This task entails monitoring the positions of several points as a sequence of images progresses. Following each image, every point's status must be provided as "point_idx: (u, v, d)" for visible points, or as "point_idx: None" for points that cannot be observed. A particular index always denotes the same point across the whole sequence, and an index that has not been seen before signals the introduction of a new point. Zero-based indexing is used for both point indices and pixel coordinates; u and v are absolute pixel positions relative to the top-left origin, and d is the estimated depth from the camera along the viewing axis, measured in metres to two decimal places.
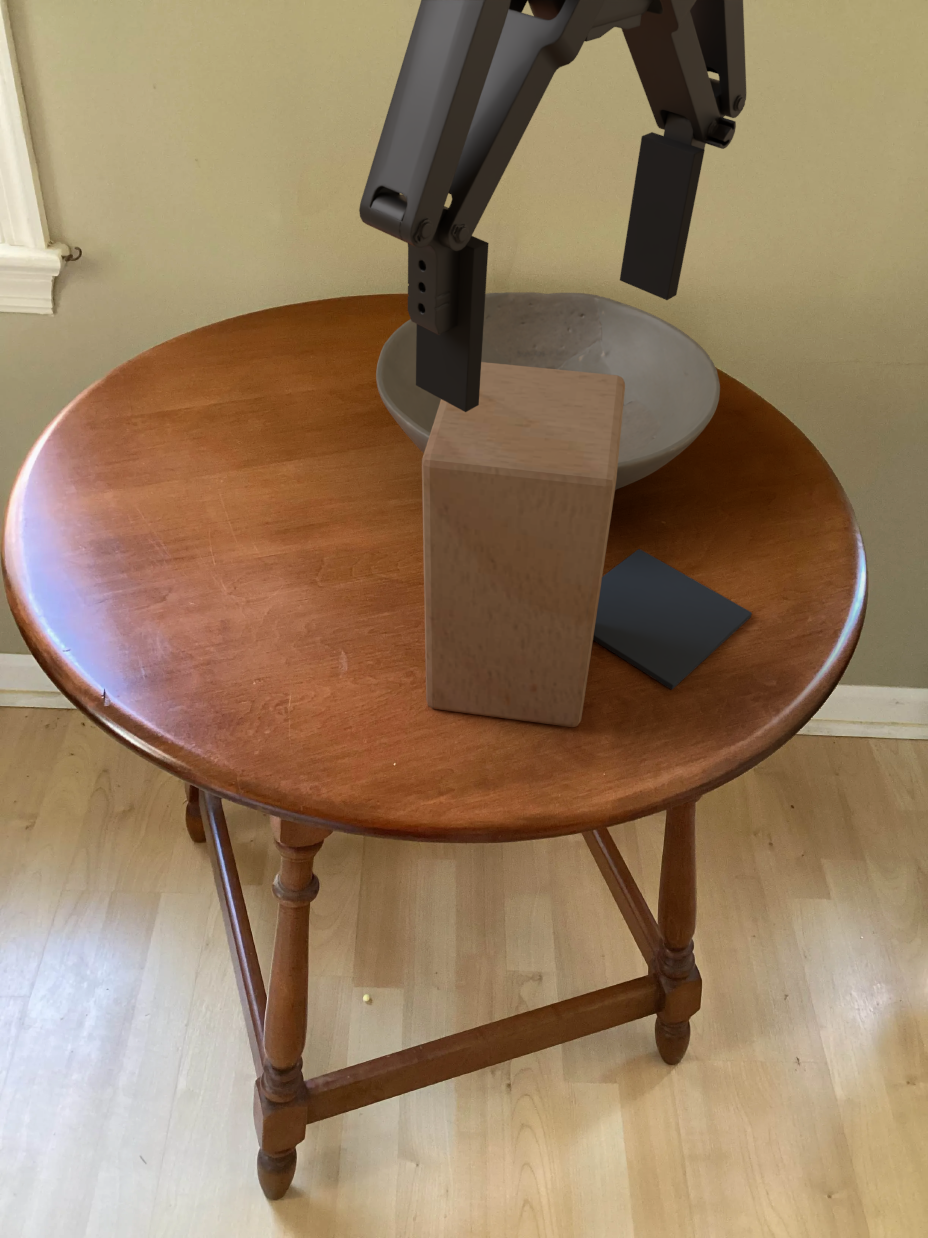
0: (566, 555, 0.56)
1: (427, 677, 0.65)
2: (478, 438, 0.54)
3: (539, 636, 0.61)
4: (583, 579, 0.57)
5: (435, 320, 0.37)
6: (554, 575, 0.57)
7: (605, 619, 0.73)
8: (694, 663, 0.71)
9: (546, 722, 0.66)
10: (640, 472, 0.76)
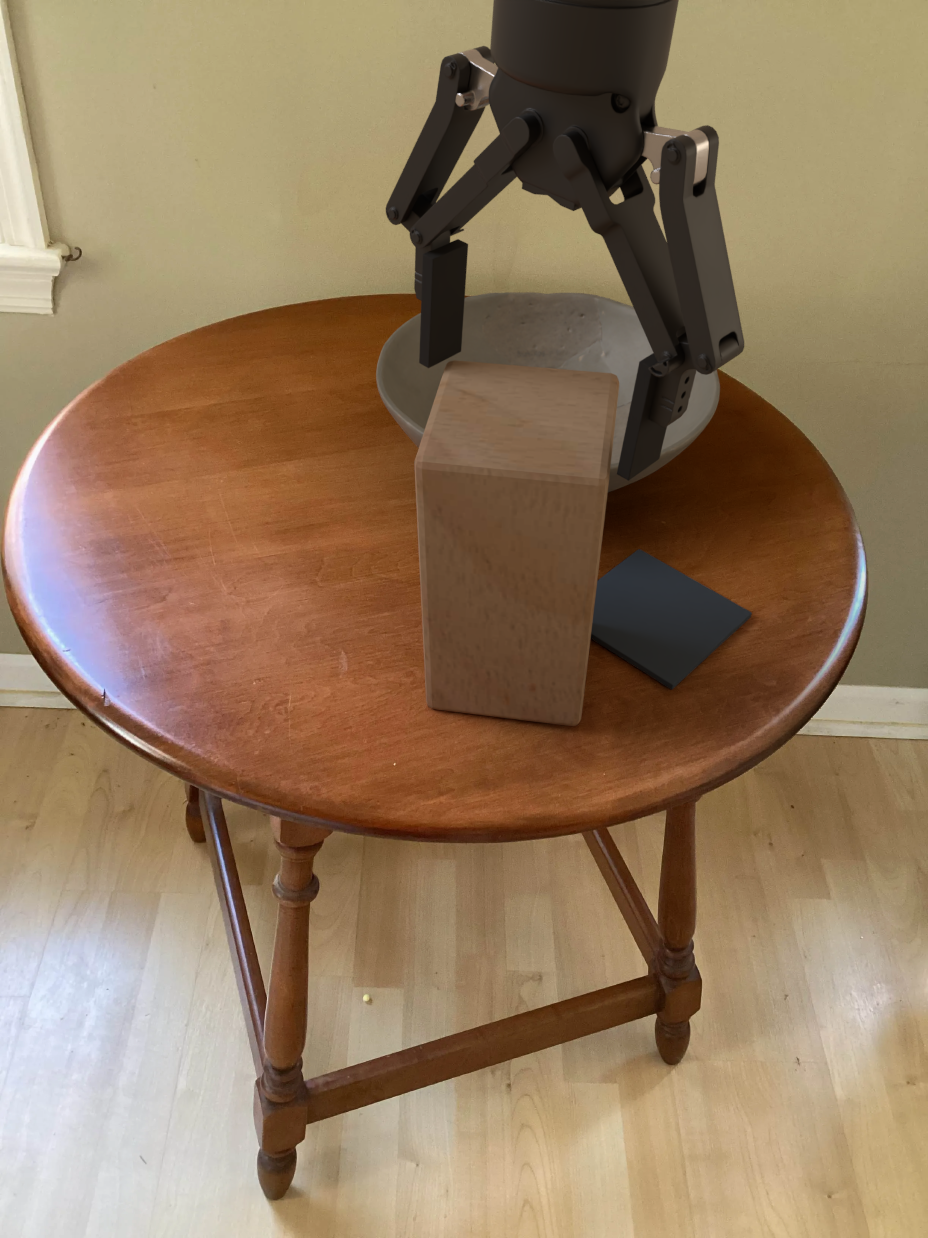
0: (561, 555, 0.56)
1: (426, 678, 0.65)
2: (471, 439, 0.54)
3: (536, 635, 0.61)
4: (579, 579, 0.57)
5: (414, 286, 0.57)
6: (549, 575, 0.57)
7: (605, 619, 0.73)
8: (694, 663, 0.71)
9: (546, 721, 0.66)
10: (640, 472, 0.76)
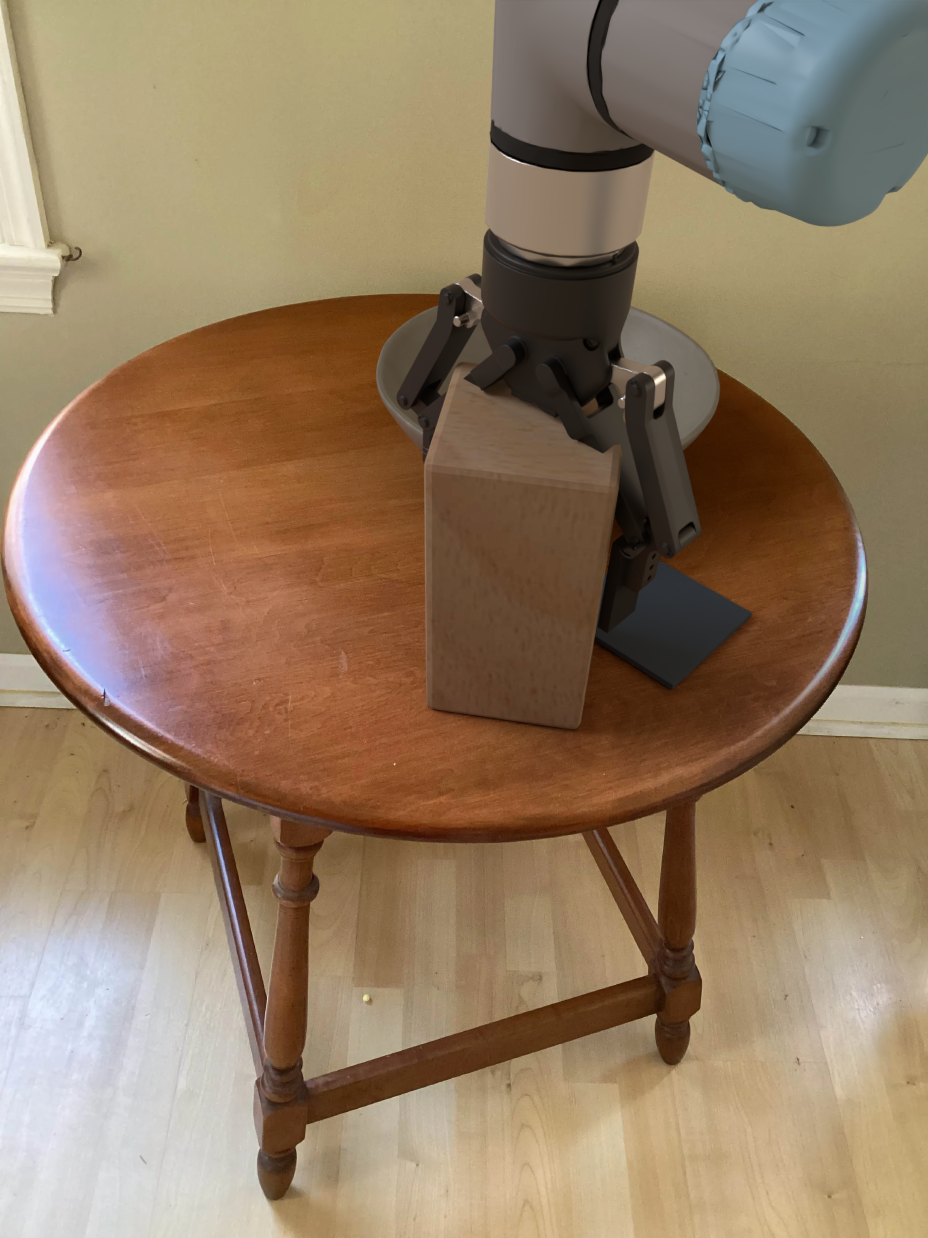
0: (568, 560, 0.56)
1: (427, 678, 0.65)
2: (481, 443, 0.54)
3: (539, 639, 0.61)
4: (585, 584, 0.57)
5: None
6: (555, 580, 0.57)
7: None
8: (694, 663, 0.71)
9: (546, 724, 0.66)
10: None
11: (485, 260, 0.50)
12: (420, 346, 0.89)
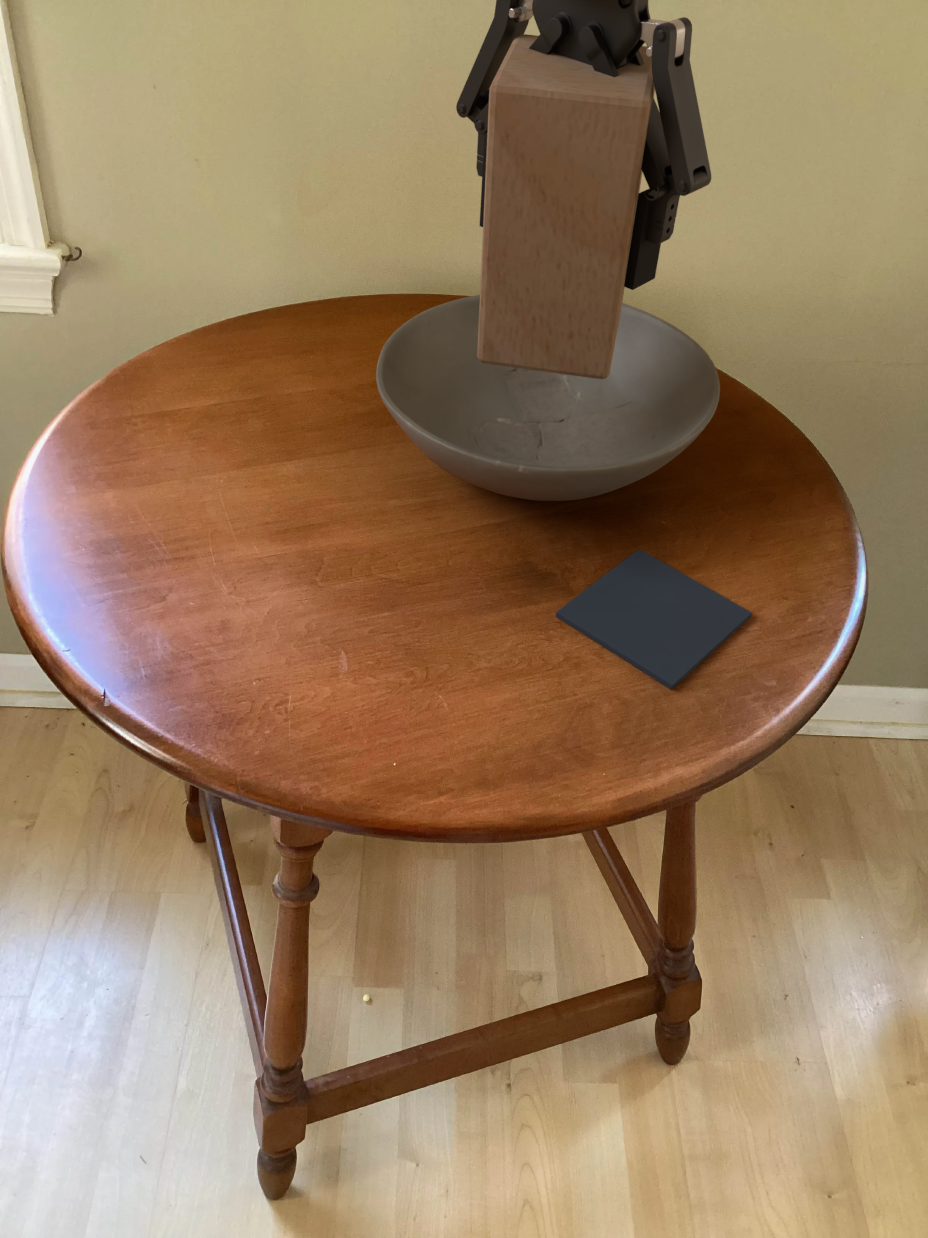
0: (605, 183, 0.67)
1: (480, 327, 0.76)
2: (537, 74, 0.65)
3: (578, 275, 0.72)
4: (619, 210, 0.68)
5: None
6: (594, 206, 0.68)
7: (605, 619, 0.73)
8: (694, 663, 0.71)
9: (579, 374, 0.77)
10: (640, 472, 0.76)
11: None
12: (420, 346, 0.89)
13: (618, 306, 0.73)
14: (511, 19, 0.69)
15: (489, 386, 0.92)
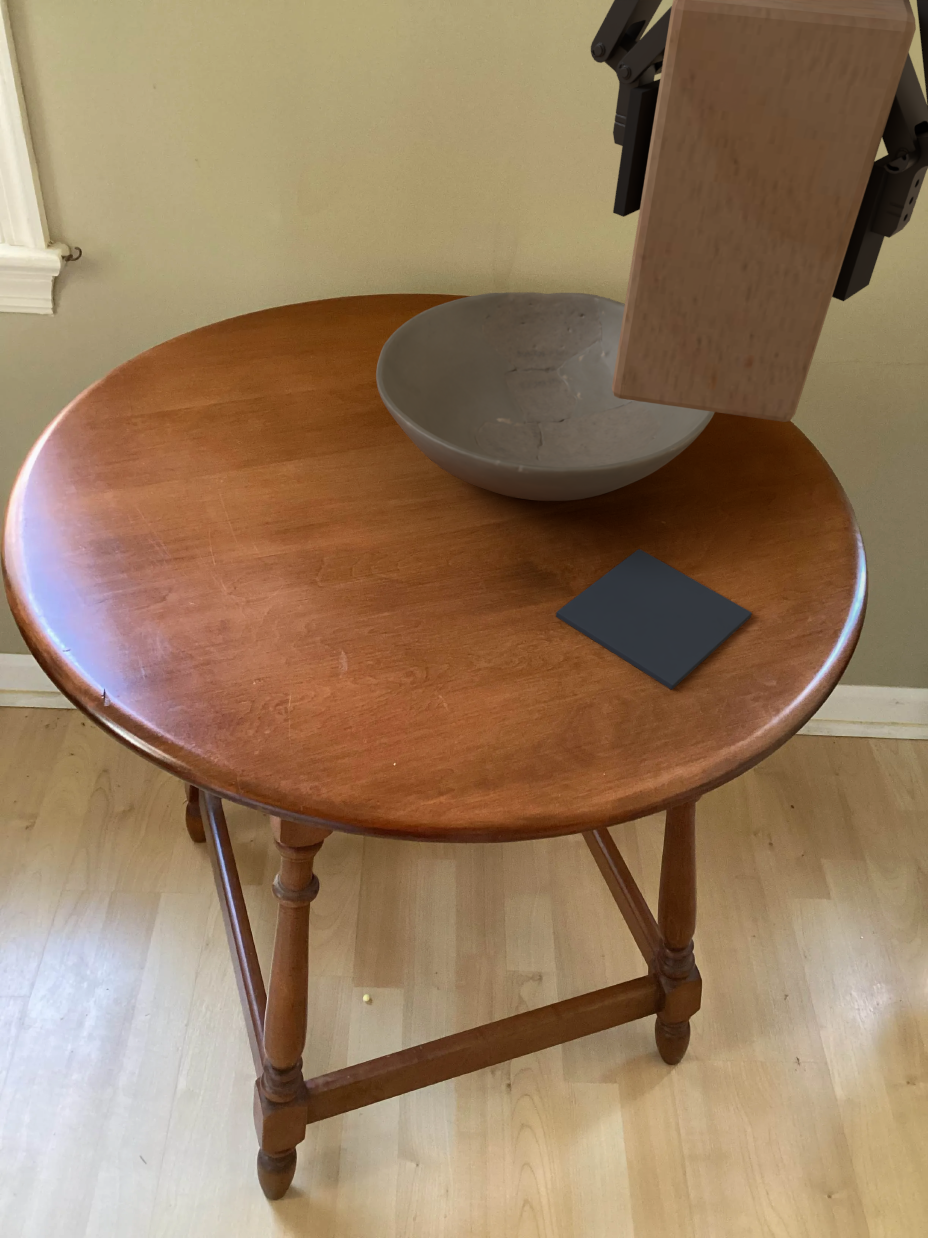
0: (831, 148, 0.46)
1: (620, 350, 0.56)
2: None
3: (771, 279, 0.51)
4: (845, 186, 0.47)
5: (613, 130, 0.57)
6: (809, 182, 0.48)
7: (605, 619, 0.73)
8: (694, 663, 0.71)
9: (754, 414, 0.57)
10: (640, 472, 0.76)
11: None
12: (420, 346, 0.89)
13: (822, 323, 0.52)
14: None
15: (489, 386, 0.92)
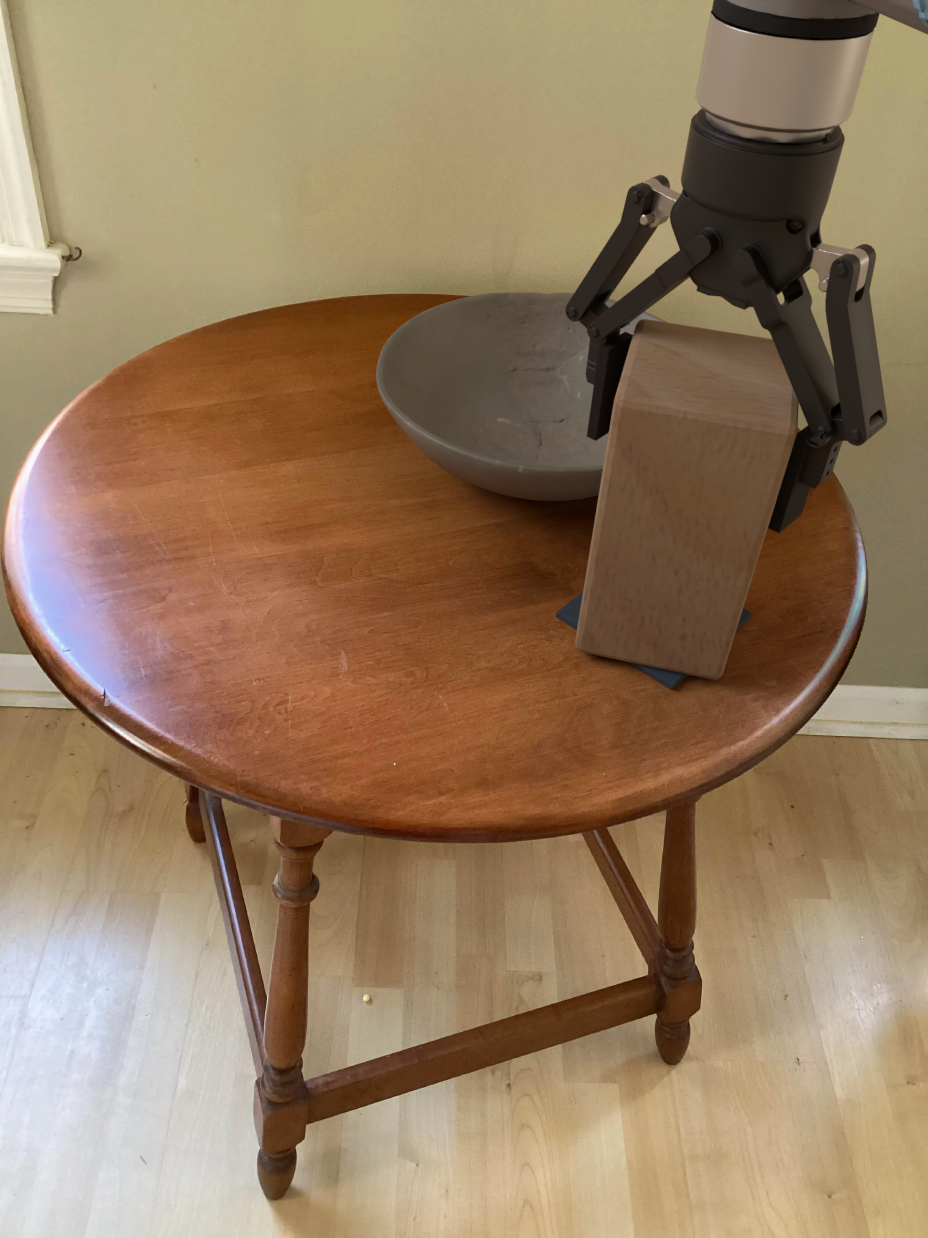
0: (738, 502, 0.60)
1: (581, 619, 0.69)
2: (667, 385, 0.58)
3: (697, 583, 0.64)
4: (750, 528, 0.61)
5: (586, 371, 0.67)
6: (722, 522, 0.61)
7: None
8: None
9: (689, 673, 0.69)
10: None
11: (694, 143, 0.51)
12: (420, 346, 0.89)
13: (739, 615, 0.65)
14: (642, 225, 0.58)
15: (489, 386, 0.92)
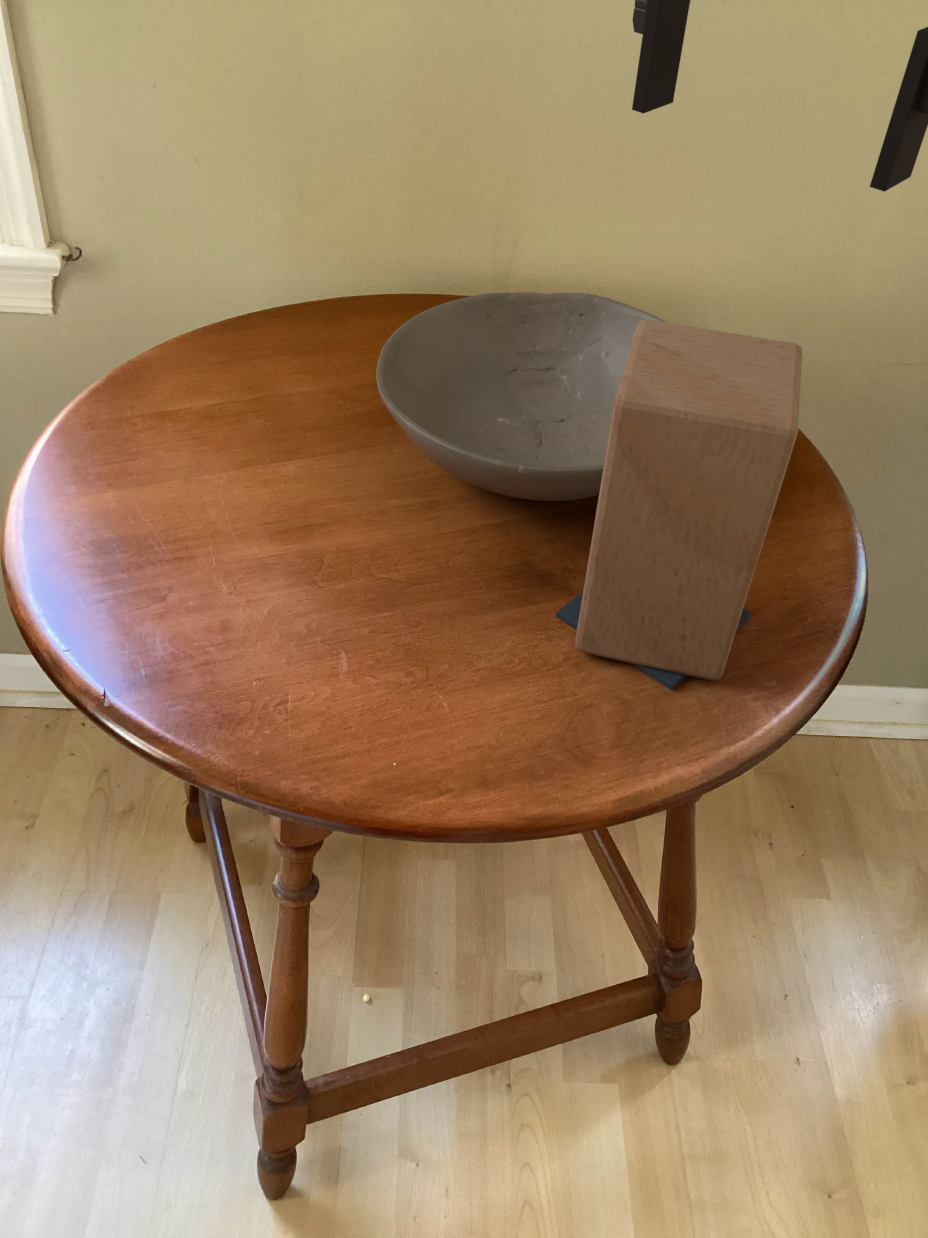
0: (738, 503, 0.60)
1: (581, 619, 0.69)
2: (668, 386, 0.58)
3: (697, 584, 0.64)
4: (751, 529, 0.61)
5: (633, 16, 0.53)
6: (722, 523, 0.61)
7: None
8: None
9: (689, 673, 0.69)
10: None
11: None
12: (420, 346, 0.89)
13: (739, 615, 0.65)
14: None
15: (489, 386, 0.92)
